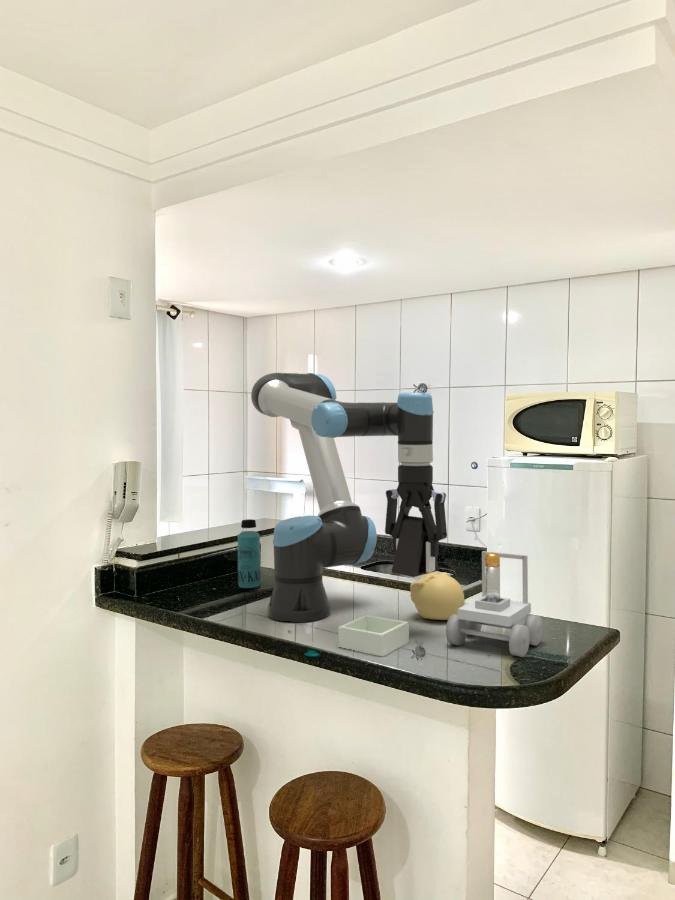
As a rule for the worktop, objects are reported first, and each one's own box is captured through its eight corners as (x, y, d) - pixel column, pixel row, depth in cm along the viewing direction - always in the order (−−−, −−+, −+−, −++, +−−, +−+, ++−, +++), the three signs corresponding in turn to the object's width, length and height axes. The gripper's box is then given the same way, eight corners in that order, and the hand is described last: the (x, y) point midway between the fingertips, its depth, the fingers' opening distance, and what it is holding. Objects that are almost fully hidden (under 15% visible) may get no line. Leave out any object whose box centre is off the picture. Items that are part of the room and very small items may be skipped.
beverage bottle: (238, 588, 197) (236, 518, 197) (261, 587, 198) (260, 517, 197) (237, 594, 191) (235, 521, 190) (261, 592, 192) (260, 520, 191)
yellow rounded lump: (433, 608, 173) (433, 565, 172) (473, 617, 164) (473, 572, 164) (403, 617, 165) (402, 572, 164) (443, 627, 156) (442, 580, 156)
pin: (482, 607, 142) (482, 554, 142) (488, 604, 145) (488, 551, 144) (496, 609, 140) (496, 555, 140) (502, 606, 143) (502, 553, 143)
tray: (338, 647, 143) (338, 627, 143) (366, 634, 152) (366, 614, 152) (382, 656, 137) (382, 635, 137) (408, 642, 146) (408, 622, 146)
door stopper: (412, 577, 146) (412, 520, 146) (391, 572, 151) (391, 517, 150) (439, 570, 153) (439, 516, 152) (418, 566, 157) (418, 513, 156)
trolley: (446, 647, 142) (445, 559, 142) (474, 630, 154) (473, 549, 153) (518, 660, 134) (518, 567, 133) (543, 641, 145) (542, 555, 144)
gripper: (367, 463, 153) (368, 567, 154) (448, 466, 142) (448, 578, 143) (385, 461, 159) (385, 561, 160) (464, 464, 148) (464, 571, 149)
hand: (415, 569), depth 152 cm, fingers closed on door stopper, 7 cm apart
